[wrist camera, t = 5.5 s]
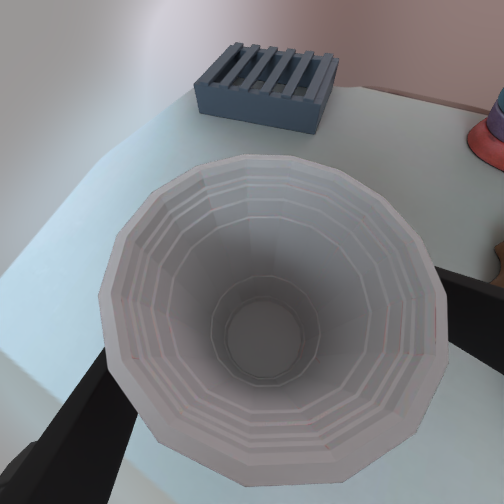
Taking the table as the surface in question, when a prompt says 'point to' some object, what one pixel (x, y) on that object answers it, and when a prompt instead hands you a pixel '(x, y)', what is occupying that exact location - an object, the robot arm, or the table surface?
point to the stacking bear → (490, 136)
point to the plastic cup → (274, 320)
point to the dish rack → (268, 87)
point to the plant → (503, 254)
